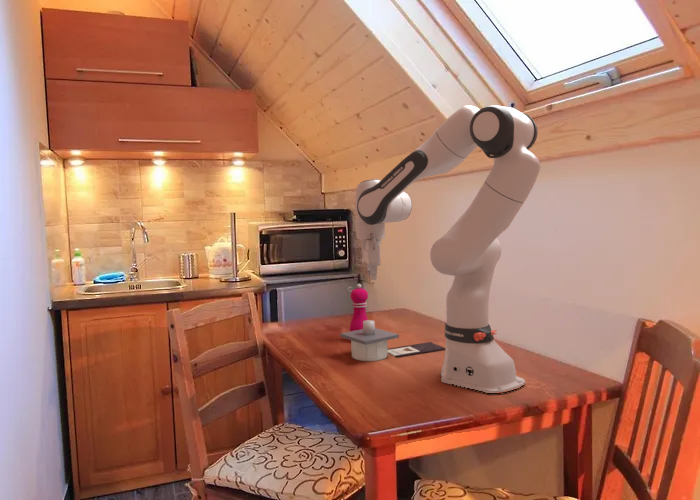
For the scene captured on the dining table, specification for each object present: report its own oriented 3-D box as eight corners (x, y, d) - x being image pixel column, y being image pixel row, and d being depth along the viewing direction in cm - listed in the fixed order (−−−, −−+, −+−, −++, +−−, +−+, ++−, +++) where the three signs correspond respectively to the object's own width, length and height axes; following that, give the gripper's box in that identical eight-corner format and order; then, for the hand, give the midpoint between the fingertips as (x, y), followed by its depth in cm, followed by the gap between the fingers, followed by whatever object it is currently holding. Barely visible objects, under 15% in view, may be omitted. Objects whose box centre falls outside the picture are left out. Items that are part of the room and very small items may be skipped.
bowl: (394, 356, 162) (394, 337, 162) (366, 363, 156) (365, 343, 156) (372, 349, 171) (372, 331, 171) (345, 355, 165) (344, 336, 164)
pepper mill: (362, 344, 178) (361, 285, 176) (345, 341, 182) (344, 284, 180) (374, 339, 183) (373, 283, 182) (358, 337, 188) (356, 281, 186)
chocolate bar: (446, 348, 169) (397, 356, 161) (446, 351, 169) (397, 359, 161) (430, 342, 177) (383, 349, 169) (430, 344, 177) (383, 352, 169)
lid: (398, 337, 162) (398, 321, 161) (365, 344, 154) (364, 328, 154) (372, 330, 172) (372, 315, 172) (340, 336, 165) (339, 320, 164)
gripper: (384, 234, 151) (386, 281, 152) (377, 231, 172) (378, 273, 173) (363, 234, 151) (364, 282, 152) (358, 232, 172) (359, 274, 173)
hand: (372, 277), depth 163 cm, fingers open, 8 cm apart
